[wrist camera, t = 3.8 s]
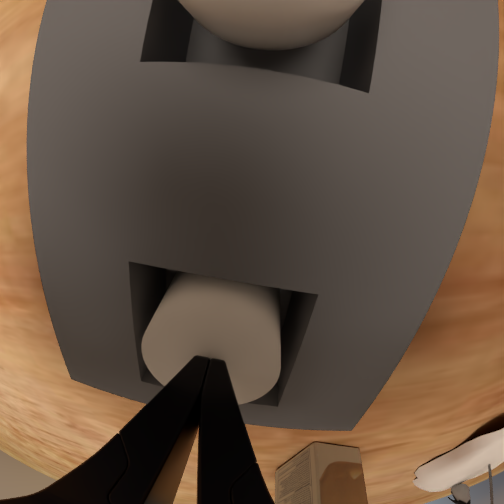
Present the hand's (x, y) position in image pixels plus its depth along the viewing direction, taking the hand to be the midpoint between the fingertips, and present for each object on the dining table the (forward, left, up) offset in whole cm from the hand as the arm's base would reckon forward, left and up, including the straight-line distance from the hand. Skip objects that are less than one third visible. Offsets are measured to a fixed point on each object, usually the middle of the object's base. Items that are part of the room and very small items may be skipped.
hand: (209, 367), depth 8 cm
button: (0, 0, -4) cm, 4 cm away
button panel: (+7, -7, -5) cm, 11 cm away
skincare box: (-17, +5, -5) cm, 18 cm away
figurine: (-35, -9, -5) cm, 36 cm away
